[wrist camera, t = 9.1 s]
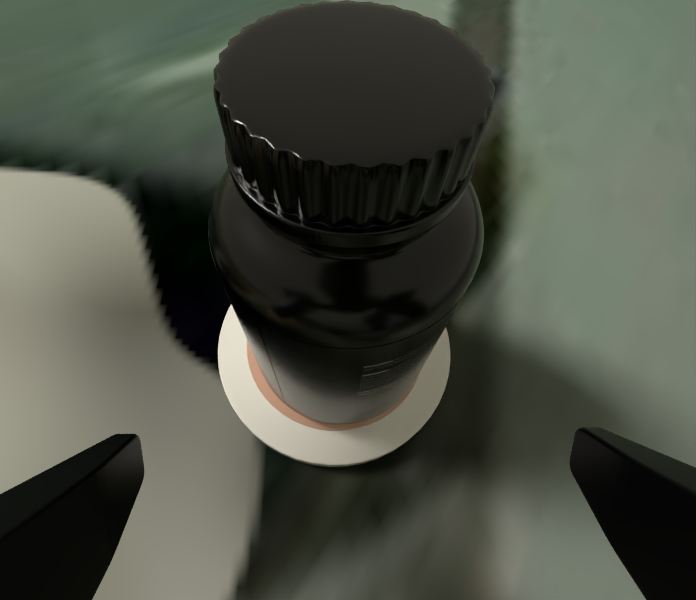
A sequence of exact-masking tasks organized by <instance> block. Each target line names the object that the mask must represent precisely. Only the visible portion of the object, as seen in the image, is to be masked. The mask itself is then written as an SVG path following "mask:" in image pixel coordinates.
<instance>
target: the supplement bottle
mask: <svg viewBox="0 0 696 600" xmlns="http://www.w3.org/2000/svg"><path fill="white" fill-rule="evenodd" d="M219 61H220V62H219V63H218V65H217V66H216V67H215V69H214V80H215V84H214V98H215V102H216V106H217V110H218V114H219V117H220V121H221V125H222V128H223V132H224V136H225V153H226V159H227V164H228V168H227V169H226V171H225V173H224V174H223V176H222V178H221V180H220V182H219V184H218V186H217V188H216V191H215V194H214V197H213V200H212V203H211V208H210V213H209V221H208V235H209V244H210V249H211V253H212V257H213V260H214V263H215V266H216V269H217V272H218V275H219V277H220V279H221V282H222V284H223V286H224V288H225V291H226V293H227V295H228V298H229V300H230V302H231V304H232V307H233V309H234V311H235V313H236V316H237V318H238V320H239V323H240V325H241V327H242V329H243V332H244V334H245V336H246V338H247V341H248V343H249V345H250V347H251V350H252V352H253V354H254V357H255V359H256V361H257V363H258V366H259V368H260V370H261V372H262V374H263V376H264V378H265V380H266V382H267V383H268V385H269V387H270V388H271V389H272V391H273V392H274V393H275V395H276V396H277V397H278V398H279V399H280V400H281V401H282V402H283V403H284V404H285V405H286V406H288V407H289V408H290V409H292V410H293V411H295V412H297V413H298V414H300V415H302V416H304V417H307V418H309V419H312V420H315V421H318V422H323V423H328V424H352V423H358V422H362V421H366V420H369V419H372V418H374V417H376V416H378V415H380V414H382V413H384V412H386V411H387V410H388V409H390V408H391V407H393V406H394V405H395V404H396V403H397V402H398V401H399V400H400V399H401V398H402V397H403V396H404V395H405V394H406V393H407V391H408V390H409V389H410V387H411V386H412V384H413V382H414V381H415V379H416V378H417V376H418V374H419V373H420V371H421V369H422V367H423V366H424V364H425V362H426V360H427V359H428V357H429V355H430V354H431V352H432V350H433V348H434V347H435V345H436V343H437V341H438V340H439V338H440V336H441V334H442V333H443V331H444V329H445V328H446V326H447V324H448V322H449V321H450V319H451V317H452V315H453V314H454V312H455V310H456V309H457V307H458V305H459V303H460V302H461V300H462V298H463V296H464V295H465V293H466V291H467V289H468V287H469V286H470V283H471V281H472V279H473V277H474V274H475V272H476V270H477V267H478V265H479V261H480V258H481V254H482V247H483V238H484V228H483V219H482V213H481V209H480V204H479V201H478V198H477V195H476V193H475V190H474V188H473V186H472V184H471V182H470V179H471V176H472V173H473V170H474V166H475V158H476V153H477V150H478V148H479V145H480V143H481V140H482V138H483V135H484V133H485V130H486V128H487V125H488V122H489V120H490V117H491V114H492V110H493V96H494V90H495V86H494V84H493V82H492V81H491V79H490V76H491V70H490V69H489V68H488V67H487V66H486V65H485V63H484V62H483V55H481V54H480V53H479V52H477V51H476V50H475V49H473V47H472V45H471V43H470V41H468V40H466V39H464V38H462V37H460V36H459V35H458V34H457V32H456V31H455V30H453V29H451V28H448V27H446V26H443V25H442V24H440V23H439V22H438V21H437V20H435V19H431V18H428V17H424V16H422V15H420V14H419V13H417V12H415V11H409V10H404V9H401V8H398V7H396V6H393V5H381V4H377V3H373V2H355V1H348V0H347V1H339V2H328V1H323V2H319V3H315V4H301V5H299V6H296V7H294V8H289V9H282V10H279V11H277V12H276V13H274V14H272V15H268V16H265V17H261V18H260V19H258V20H257V21H256V22H255V23H254V24H251V25H249V26H246V27H244V28H243V29H242V30H241V32H240V34H239V35H237V36H235V37H233V38H232V39H230V40H229V43H228V47H227V48H226V49H224V50H223V51H222V52H221V53H220V54H219Z"/></svg>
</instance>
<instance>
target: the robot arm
mask: <svg viewBox="0 0 696 600" xmlns="http://www.w3.org/2000/svg"><path fill="white" fill-rule="evenodd" d="M570 468H571V471H572V474H573V476H574V478H575V480H576V482H577V483H578V485H579V487H580V489H581V491H582V493H583V495H584V496H585V498H586V500H587V502H588V504H589V506H590V508H591V510H592V511H593V513H594V515H595V517H596V519H597V521H598V523H599V524H600V526H601V528H602V530H603V532H604V534H605V535H606V537H607V539H608V541H609V542H610V544H611V546H612V547H613V549H614V551H615V552H616V554H617V555H618V557H619V559H620V560H621V562H622V563H623V565H624V566H625V568H626V569H627V571H628V572H629V574H630V575H631V577H632V579H633V580H634V582H635V583H636V585H637V586H638V588H639V589H640V591H641V592H642V594H643V595H644V597H645V598H646V600H696V468H695V467H693V466H690V465H688V464H685V463H683V462H681V461H678V460H676V459H674V458H671V457H669V456H666V455H664V454H662V453H659V452H657V451H654V450H652V449H650V448H647V447H645V446H642V445H640V444H638V443H635V442H633V441H631V440H628V439H626V438H623V437H621V436H619V435H616V434H614V433H611V432H609V431H607V430H604V429H602V428H598V427H583V428H579V429H578V430H577V431H576V433H575V437H574V442H573V447H572V452H571V457H570ZM143 478H144V464H143V456H142V449H141V442H140V438H139V436H137V435H136V434H115V435H113V436H111V437H109V438H107V439H105V440H103V441H101V442H99V443H97V444H96V445H94V446H92V447H90V448H88V449H86V450H84V451H82V452H80V453H78V454H76V455H74V456H73V457H71V458H69V459H67V460H65V461H63V462H61V463H59V464H57V465H55V466H53V467H52V468H50V469H48V470H46V471H44V472H42V473H40V474H38V475H36V476H34V477H32V478H30V479H29V480H27V481H25V482H23V483H21V484H19V485H17V486H15V487H13V488H12V489H9V490H8V491H6V492H4V493H2V494H0V600H92V599H93V596H94V594H95V593H96V591H97V589H98V587H99V585H100V583H101V581H102V579H103V577H104V575H105V573H106V571H107V569H108V567H109V565H110V562H111V560H112V558H113V556H114V553H115V551H116V548H117V546H118V544H119V541H120V538H121V536H122V533H123V531H124V528H125V526H126V523H127V520H128V518H129V515H130V513H131V510H132V508H133V505H134V502H135V500H136V497H137V495H138V492H139V490H140V487H141V484H142V481H143Z"/></svg>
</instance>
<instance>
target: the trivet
mask: <svg viewBox="0 0 696 600" xmlns="http://www.w3.org/2000/svg"><path fill="white" fill-rule="evenodd" d="M218 365H219V371H220V378H221V381H222V384H223V387H224V391H225V393H226V395H227V397H228V399H229V401H230V404H231V406H232V407H233V409H234V410H235V412H236V413H237V415H238V416H239V418H240V419H241V420H242V422H243V423H244V424H245V425H246V427H247V428H248V429H249V430H250V431H251V432H252V433H253V434H254V435H255V436H256V437H257V438H258V439H259V440H261V441H262V442H263V443H264V444H265V445H267V446H268V447H270V448H271V449H273V450H275V451H276V452H278V453H280V454H281V455H283V456H286V457H288V458H291V459H293V460H295V461H298V462H302V463H306V464H310V465H315V466H323V467H347V466H353V465H359V464H363V463H367V462H370V461H373V460H376V459H378V458H381V457H383V456H385V455H387V454H389V453H391V452H393V451H394V450H396V449H397V448H399V447H400V446H402V445H403V444H405V443H406V442H407V441H408V440H409V439H410V438H411V437H412V436H413V435H415V434H416V433H417V432H418V431H419V430H420V429H421V428H422V427H423V426H424V424H425V423H426V422H427V421H428V419H429V418H430V417H431V416H432V414H433V412H434V411H435V409H436V408H437V406H438V404H439V402H440V400H441V398H442V395H443V393H444V391H445V388H446V384H447V380H448V376H449V369H450V344H449V338H448V332H447V329H446V328H445V329H444V331H443V333H442V334H441V336H440V338H439V340H438V341H437V343H436V345H435V347H434V348H433V350H432V352H431V354H430V355H429V357H428V359H427V360H426V362H425V364H424V366H423V367H422V369H421V371H420V373H419V374H418V376H417V378H416V379H415V381H414V382H413V384H412V386H411V387H410V389H409V390H408V391H407V393H406V394H405V395H404V396H403V397H402V398H401V399H400V400H399V401H398V402H397V403H396V404H395V405H394V406H393V407H391V408H390V409H388V410H387V411H386V412H384V413H382V414H380V415H378V416H376V417H374V418H372V419H369V420H366V421H362V422H358V423H352V424H328V423H323V422H318V421H315V420H312V419H309V418H307V417H304V416H302V415H300V414H298V413H297V412H295V411H293V410H292V409H290V408H289V407H288V406H286V405H285V404H284V403H283V402H282V401H281V400H280V399H279V398H278V397H277V396H276V395H275V393H274V392H273V391H272V389H271V388H270V387H269V385H268V383H267V382H266V380H265V378H264V376H263V374H262V372H261V370H260V368H259V366H258V363H257V361H256V359H255V357H254V354H253V352H252V350H251V347H250V345H249V343H248V341H247V338H246V336H245V334H244V332H243V329H242V327H241V325H240V323H239V320H238V318H237V316H236V313H235V311H234V309H233V307H232V304H231V306H230V307H229V310H228V312H227V314H226V317H225V319H224V322H223V325H222V329H221V332H220V338H219V345H218Z"/></svg>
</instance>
